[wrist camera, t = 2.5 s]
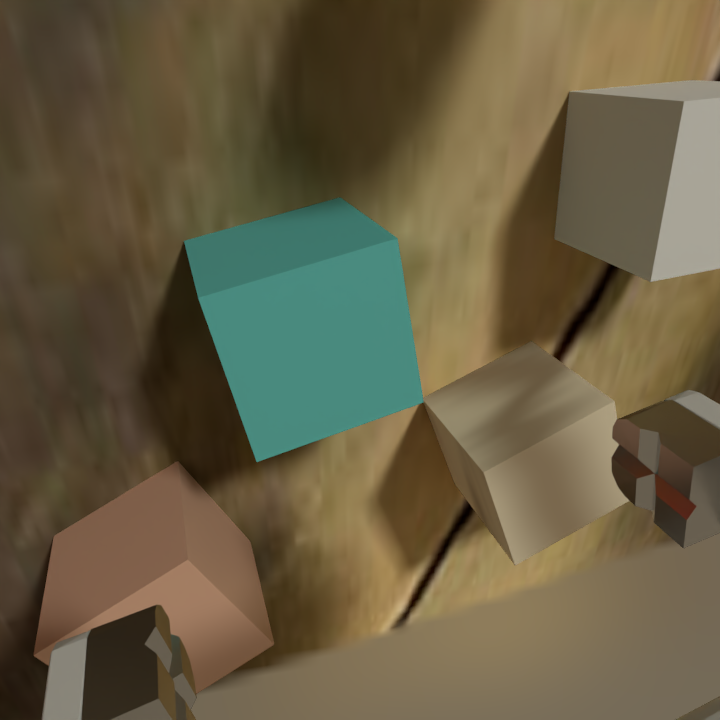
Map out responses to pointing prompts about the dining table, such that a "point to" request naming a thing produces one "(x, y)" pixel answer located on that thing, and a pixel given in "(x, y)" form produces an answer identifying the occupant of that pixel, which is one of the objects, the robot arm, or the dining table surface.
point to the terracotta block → (160, 575)
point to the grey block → (643, 177)
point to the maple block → (528, 448)
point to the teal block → (308, 323)
